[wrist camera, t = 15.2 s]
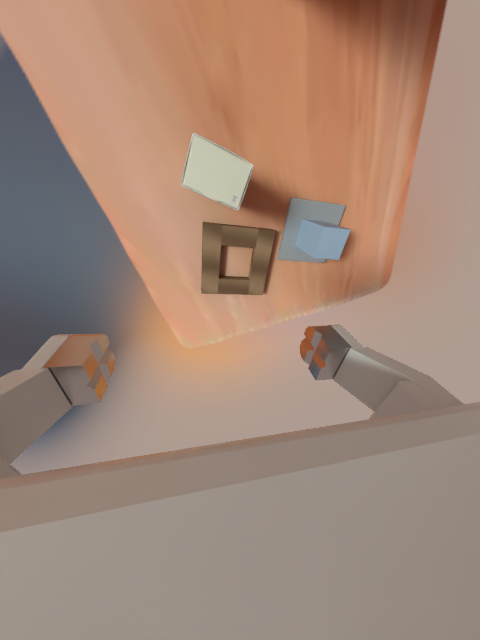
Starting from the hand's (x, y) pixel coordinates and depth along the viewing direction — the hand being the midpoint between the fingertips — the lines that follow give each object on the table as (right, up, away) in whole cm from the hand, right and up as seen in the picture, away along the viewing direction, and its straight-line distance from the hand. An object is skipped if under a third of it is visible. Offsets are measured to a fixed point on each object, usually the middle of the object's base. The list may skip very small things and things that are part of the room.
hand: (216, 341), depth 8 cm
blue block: (+14, +16, +27) cm, 35 cm away
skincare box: (-3, +22, +21) cm, 30 cm away
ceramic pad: (+14, +17, +28) cm, 35 cm away
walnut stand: (0, +12, +28) cm, 31 cm away
